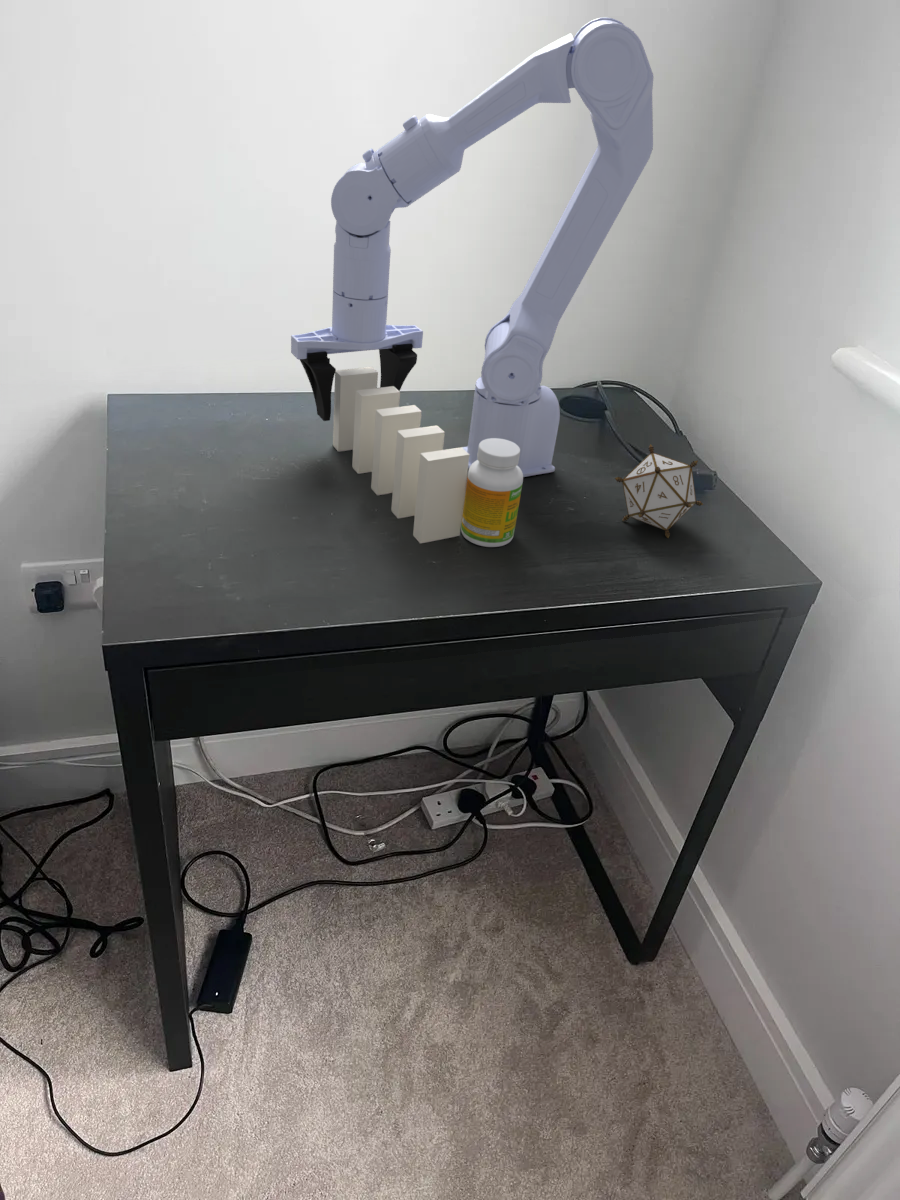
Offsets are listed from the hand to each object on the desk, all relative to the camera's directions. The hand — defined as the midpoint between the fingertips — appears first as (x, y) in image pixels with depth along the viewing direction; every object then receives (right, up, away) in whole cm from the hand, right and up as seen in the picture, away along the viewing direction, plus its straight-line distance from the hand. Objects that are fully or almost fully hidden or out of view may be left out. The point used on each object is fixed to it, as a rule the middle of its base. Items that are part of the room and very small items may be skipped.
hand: (355, 413), depth 103 cm
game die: (+32, -13, -5) cm, 35 cm away
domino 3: (+5, -9, -5) cm, 11 cm away
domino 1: (0, -3, +2) cm, 4 cm away
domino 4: (+7, -12, -8) cm, 16 cm away
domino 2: (+2, -6, -1) cm, 7 cm away
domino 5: (+9, -15, -12) cm, 21 cm away
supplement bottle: (+14, -15, -10) cm, 23 cm away
